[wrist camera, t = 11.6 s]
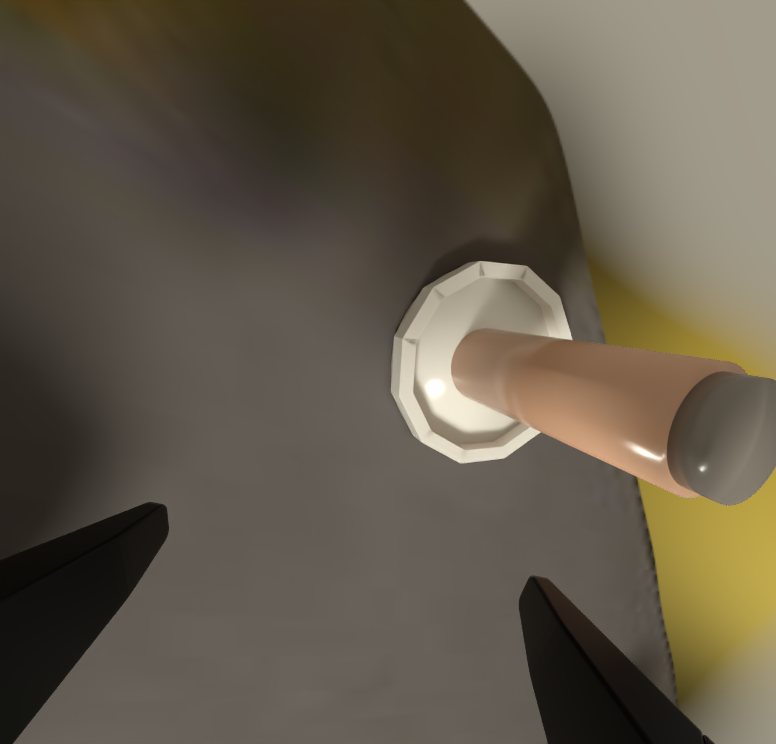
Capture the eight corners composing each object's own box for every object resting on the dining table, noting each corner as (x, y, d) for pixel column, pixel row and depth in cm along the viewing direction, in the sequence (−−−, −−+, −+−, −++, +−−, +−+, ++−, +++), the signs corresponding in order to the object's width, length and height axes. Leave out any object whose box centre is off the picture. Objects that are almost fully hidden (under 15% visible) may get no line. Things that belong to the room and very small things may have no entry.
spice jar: (495, 409, 24) (752, 526, 12) (439, 386, 22) (674, 498, 10) (523, 344, 23) (814, 396, 11) (469, 316, 22) (745, 343, 10)
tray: (540, 443, 26) (556, 452, 25) (385, 460, 22) (394, 471, 21) (563, 273, 24) (583, 271, 23) (396, 255, 20) (407, 253, 19)
